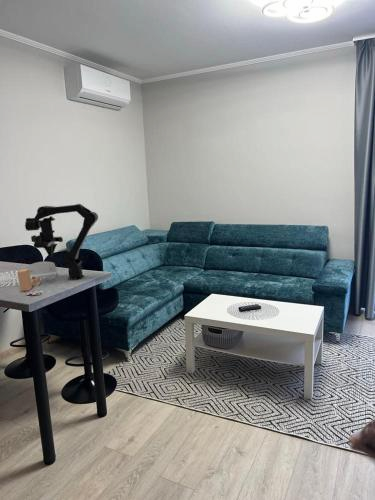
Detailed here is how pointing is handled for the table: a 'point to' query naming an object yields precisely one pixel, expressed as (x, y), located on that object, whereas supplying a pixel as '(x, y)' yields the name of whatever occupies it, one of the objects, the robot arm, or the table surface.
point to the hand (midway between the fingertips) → (50, 257)
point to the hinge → (42, 270)
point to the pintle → (35, 283)
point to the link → (26, 280)
